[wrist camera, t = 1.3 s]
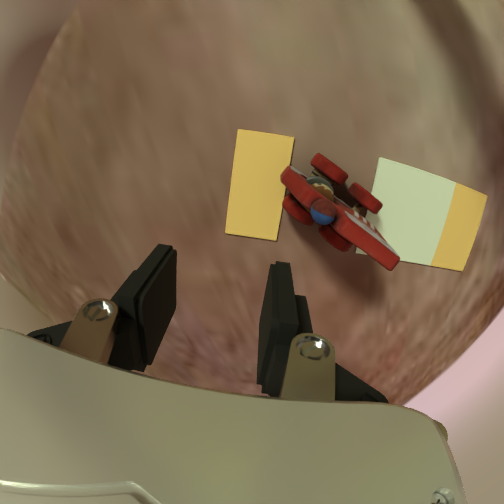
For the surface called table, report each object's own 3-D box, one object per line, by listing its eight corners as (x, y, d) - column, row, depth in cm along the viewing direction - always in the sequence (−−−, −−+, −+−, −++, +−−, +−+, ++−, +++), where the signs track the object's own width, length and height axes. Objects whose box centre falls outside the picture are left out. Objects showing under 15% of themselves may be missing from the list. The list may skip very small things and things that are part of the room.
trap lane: (238, 129, 28) (238, 129, 28) (486, 195, 29) (487, 195, 29) (225, 232, 33) (225, 233, 33) (461, 270, 34) (462, 271, 34)
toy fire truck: (301, 140, 28) (316, 145, 19) (385, 206, 31) (425, 239, 21) (265, 191, 31) (262, 219, 22) (349, 250, 33) (375, 297, 24)
